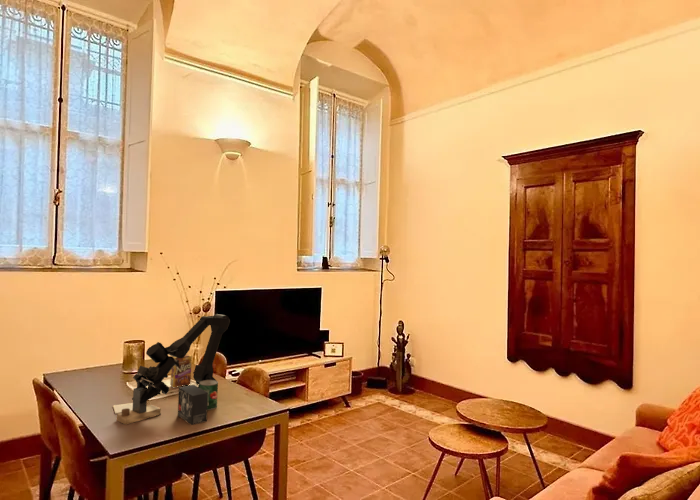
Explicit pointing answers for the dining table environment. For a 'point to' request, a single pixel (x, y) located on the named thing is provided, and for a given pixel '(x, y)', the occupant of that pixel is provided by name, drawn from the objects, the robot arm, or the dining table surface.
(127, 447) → the dining table surface
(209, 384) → the canned tomato
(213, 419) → the dining table surface
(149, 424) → the dining table surface
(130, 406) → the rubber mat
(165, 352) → the robot arm
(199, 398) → the small box
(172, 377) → the candy box
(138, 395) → the lever cap
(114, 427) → the dining table surface
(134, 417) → the plane body
